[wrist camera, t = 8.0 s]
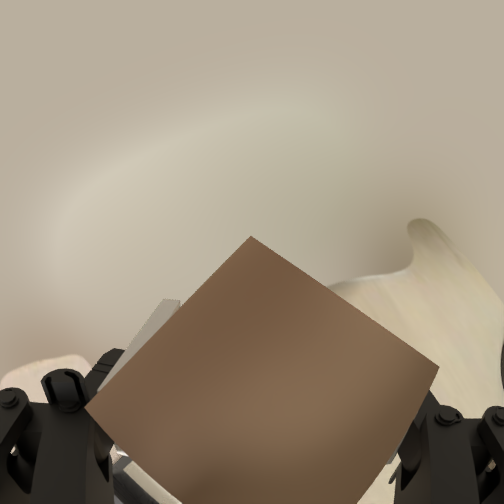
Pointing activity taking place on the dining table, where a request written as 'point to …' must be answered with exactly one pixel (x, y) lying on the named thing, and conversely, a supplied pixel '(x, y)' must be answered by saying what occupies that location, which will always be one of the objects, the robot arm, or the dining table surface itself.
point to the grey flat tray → (137, 485)
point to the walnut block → (265, 391)
